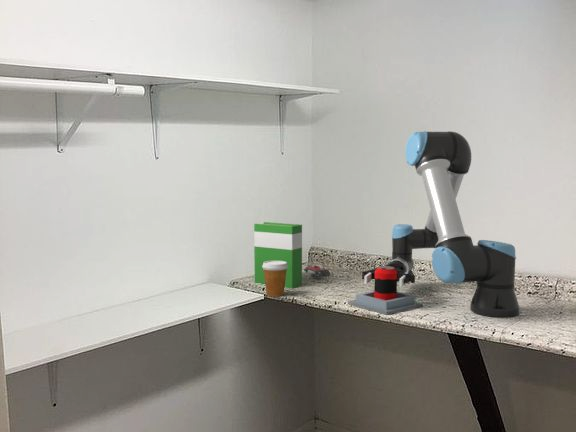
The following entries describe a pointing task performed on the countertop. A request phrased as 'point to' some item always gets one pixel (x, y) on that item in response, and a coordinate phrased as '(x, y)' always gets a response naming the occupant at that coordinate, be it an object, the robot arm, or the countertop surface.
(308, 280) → the countertop surface
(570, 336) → the countertop surface
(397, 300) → the dock
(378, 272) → the soda can
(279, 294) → the disposable coffee cup
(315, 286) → the countertop surface
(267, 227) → the cereal box
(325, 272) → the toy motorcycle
